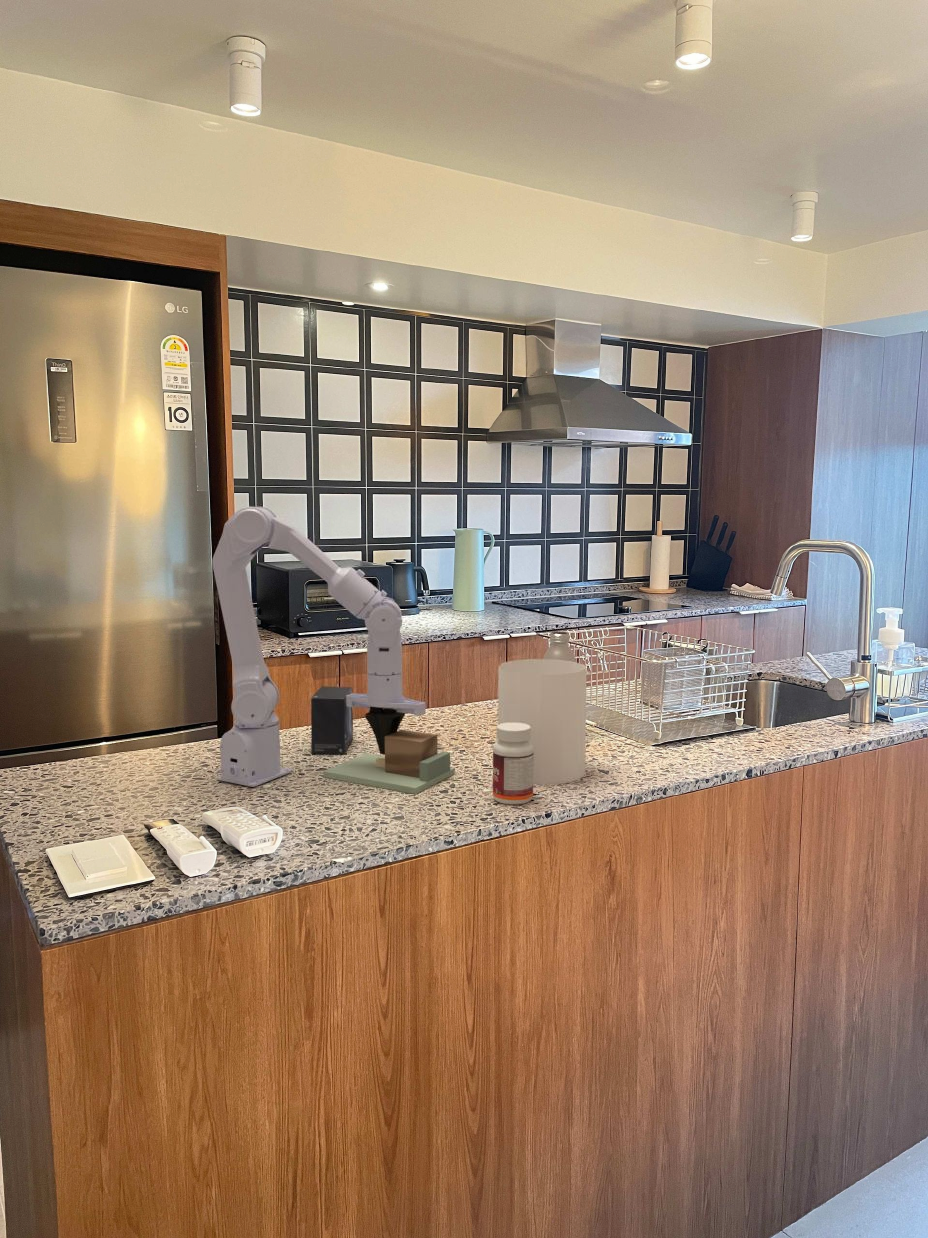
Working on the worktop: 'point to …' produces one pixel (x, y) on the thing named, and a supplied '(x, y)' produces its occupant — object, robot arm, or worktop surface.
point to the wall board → (373, 773)
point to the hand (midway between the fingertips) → (385, 752)
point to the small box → (331, 720)
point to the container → (547, 714)
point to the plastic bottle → (559, 647)
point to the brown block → (408, 751)
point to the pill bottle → (513, 764)
